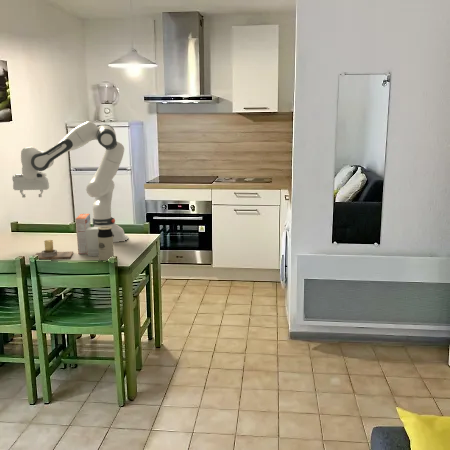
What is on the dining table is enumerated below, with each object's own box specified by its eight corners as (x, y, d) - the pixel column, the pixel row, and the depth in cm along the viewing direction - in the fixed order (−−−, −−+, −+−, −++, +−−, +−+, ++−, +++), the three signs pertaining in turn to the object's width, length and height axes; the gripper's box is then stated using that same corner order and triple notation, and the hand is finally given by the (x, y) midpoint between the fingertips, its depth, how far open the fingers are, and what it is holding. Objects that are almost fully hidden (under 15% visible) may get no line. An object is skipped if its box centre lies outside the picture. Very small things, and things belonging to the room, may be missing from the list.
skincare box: (104, 252, 296) (102, 226, 293) (101, 256, 290) (100, 229, 287) (89, 253, 296) (88, 226, 293) (86, 256, 290) (85, 229, 286)
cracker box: (82, 247, 308) (80, 213, 303) (92, 247, 308) (90, 213, 304) (77, 254, 294) (75, 218, 289) (88, 254, 294) (86, 218, 290)
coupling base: (73, 253, 295) (72, 248, 295) (70, 258, 285) (69, 253, 284) (37, 254, 293) (36, 249, 292) (32, 260, 282) (32, 254, 281)
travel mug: (107, 256, 289) (106, 225, 285) (116, 259, 284) (115, 227, 280) (96, 259, 283) (94, 227, 279) (105, 262, 278) (103, 229, 274)
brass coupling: (54, 253, 291) (53, 239, 289) (52, 255, 286) (51, 241, 285) (46, 253, 290) (45, 239, 288) (44, 255, 286) (43, 241, 284)
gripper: (10, 175, 303) (12, 198, 306) (46, 174, 305) (48, 197, 308) (13, 174, 309) (15, 196, 312) (48, 173, 312) (50, 196, 314)
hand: (32, 197), depth 310 cm, fingers open, 8 cm apart
